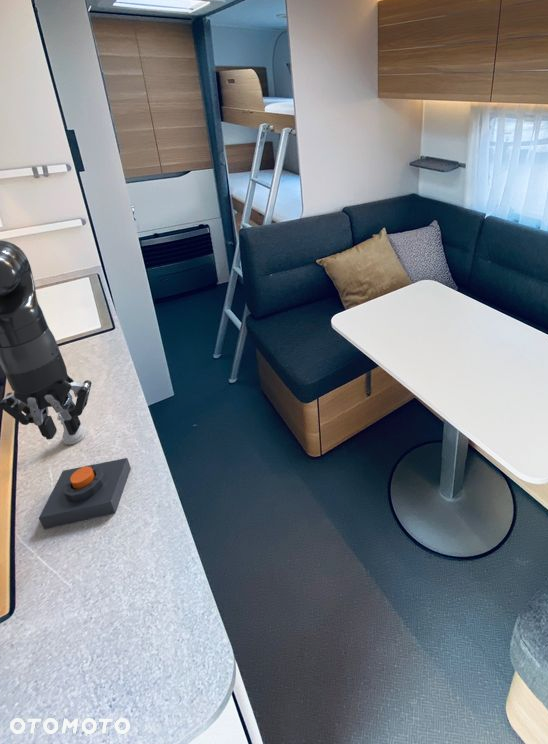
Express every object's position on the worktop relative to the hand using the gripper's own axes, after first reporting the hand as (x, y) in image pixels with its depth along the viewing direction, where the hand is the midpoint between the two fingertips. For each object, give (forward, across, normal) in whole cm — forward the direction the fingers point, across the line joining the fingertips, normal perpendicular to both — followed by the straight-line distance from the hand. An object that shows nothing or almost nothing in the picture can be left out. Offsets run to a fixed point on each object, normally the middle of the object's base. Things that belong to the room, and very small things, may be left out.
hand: (63, 433), depth 75 cm
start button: (+13, 0, 0) cm, 13 cm away
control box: (+17, 0, 0) cm, 17 cm away
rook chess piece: (+17, -9, +17) cm, 26 cm away
